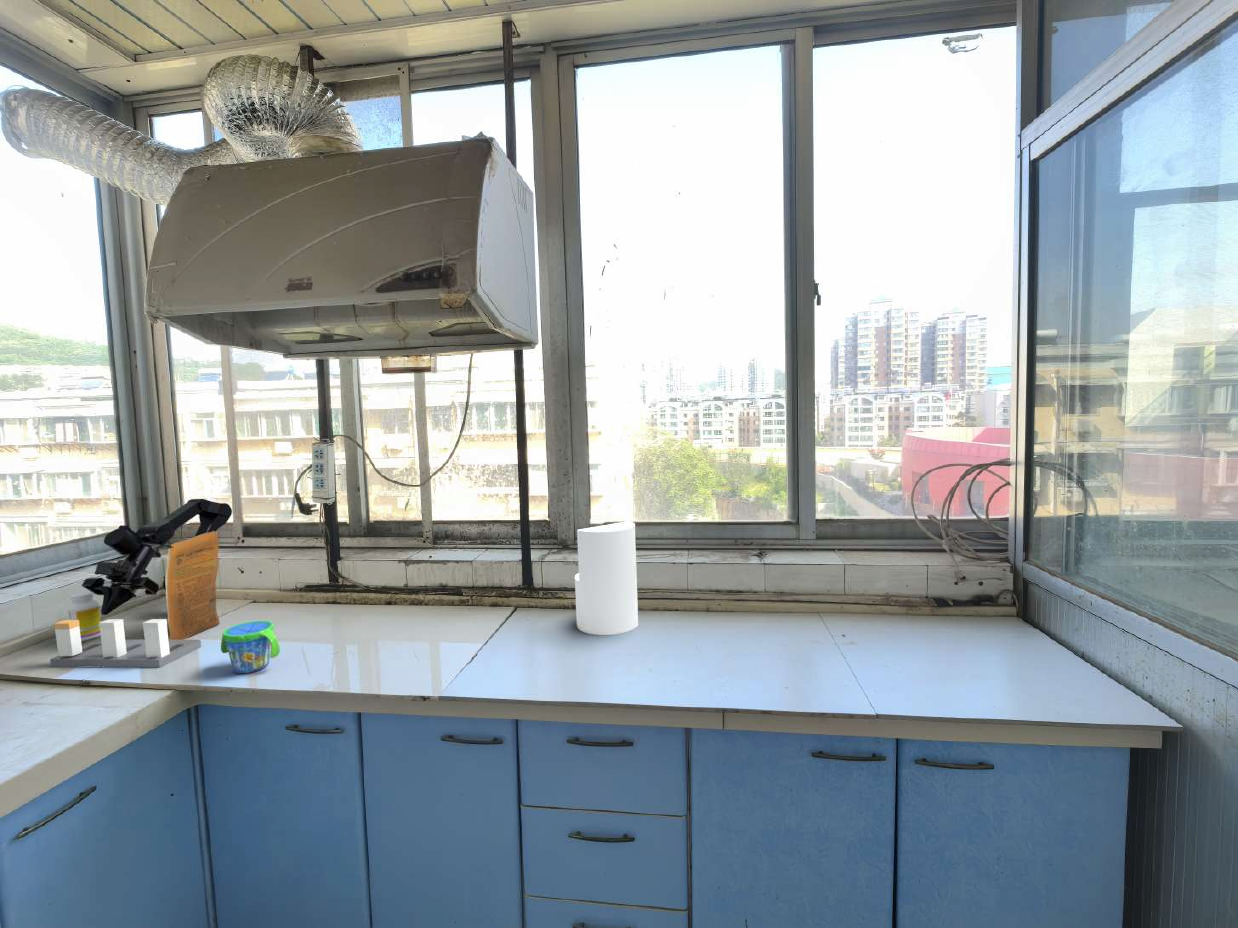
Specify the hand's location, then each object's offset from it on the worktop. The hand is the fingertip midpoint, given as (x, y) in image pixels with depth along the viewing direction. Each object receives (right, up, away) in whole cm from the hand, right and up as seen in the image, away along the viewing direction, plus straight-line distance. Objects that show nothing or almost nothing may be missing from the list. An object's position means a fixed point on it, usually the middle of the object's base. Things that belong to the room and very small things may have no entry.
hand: (103, 614), depth 161 cm
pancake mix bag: (+17, -8, +12) cm, 23 cm away
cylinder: (+136, -4, +6) cm, 137 cm away
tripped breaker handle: (-1, -8, -9) cm, 12 cm away
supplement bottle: (-13, -9, +10) cm, 19 cm away
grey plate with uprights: (+11, -10, -5) cm, 16 cm away
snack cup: (+50, -9, -16) cm, 53 cm away
